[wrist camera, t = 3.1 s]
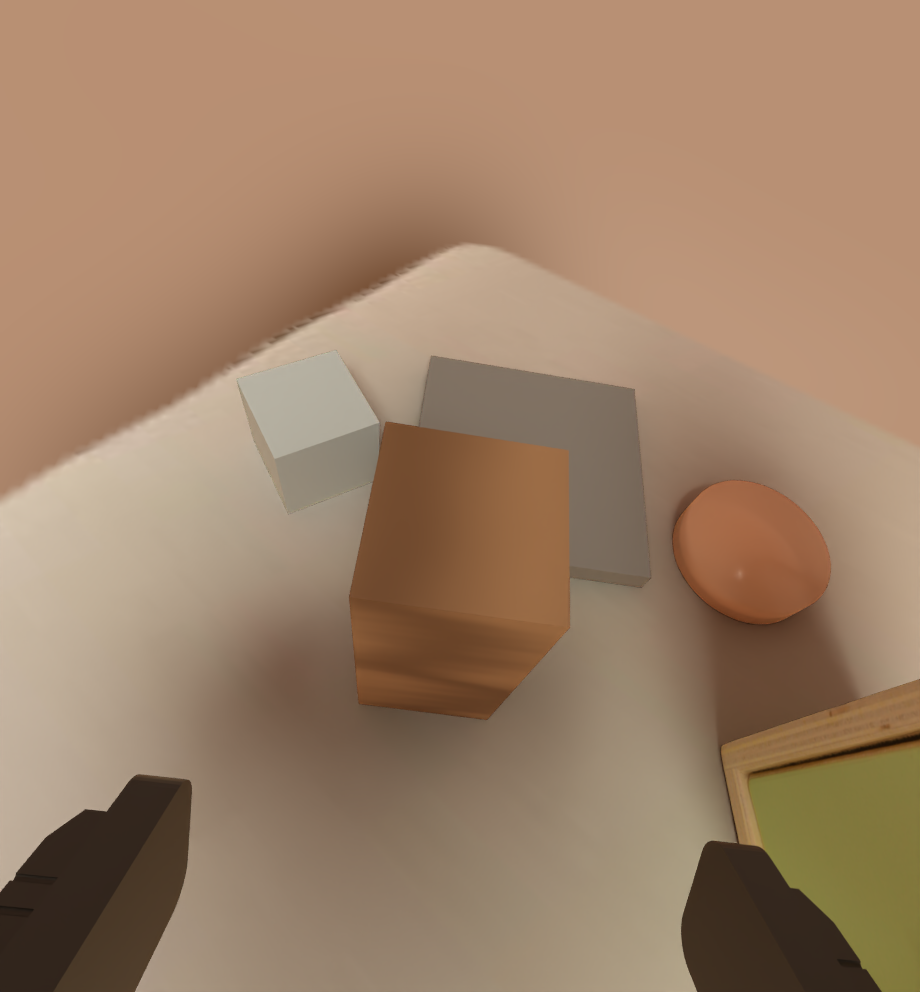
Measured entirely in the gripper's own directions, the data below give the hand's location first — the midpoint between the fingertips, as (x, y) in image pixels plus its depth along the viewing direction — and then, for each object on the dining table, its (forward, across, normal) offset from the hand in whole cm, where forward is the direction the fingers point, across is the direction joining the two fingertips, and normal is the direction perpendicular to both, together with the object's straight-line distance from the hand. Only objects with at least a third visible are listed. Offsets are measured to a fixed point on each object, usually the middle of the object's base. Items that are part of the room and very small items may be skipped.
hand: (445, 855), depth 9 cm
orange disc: (+16, -13, -1) cm, 21 cm away
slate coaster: (+18, -3, -3) cm, 19 cm away
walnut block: (+12, 0, +3) cm, 12 cm away
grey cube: (+17, +6, -2) cm, 19 cm away
